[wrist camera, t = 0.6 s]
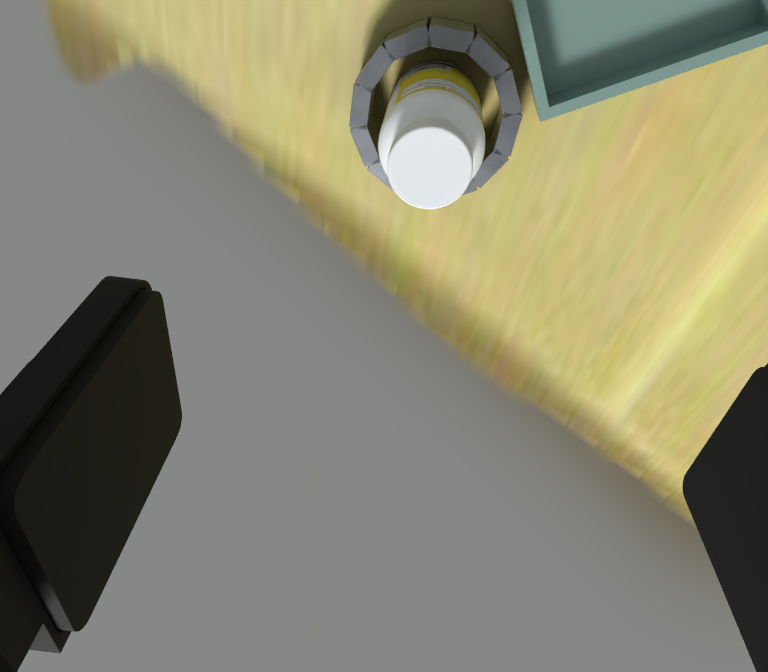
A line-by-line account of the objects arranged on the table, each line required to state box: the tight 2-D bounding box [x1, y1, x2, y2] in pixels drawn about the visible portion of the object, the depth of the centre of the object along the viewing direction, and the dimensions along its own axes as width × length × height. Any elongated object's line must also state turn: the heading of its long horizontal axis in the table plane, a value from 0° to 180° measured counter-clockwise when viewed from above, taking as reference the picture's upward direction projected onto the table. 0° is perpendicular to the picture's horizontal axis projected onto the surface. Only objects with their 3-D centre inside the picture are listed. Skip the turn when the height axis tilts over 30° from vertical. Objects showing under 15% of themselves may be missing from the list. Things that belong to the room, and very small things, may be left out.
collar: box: [349, 17, 522, 195], centre depth 33 cm, size 9×9×2 cm
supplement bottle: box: [378, 61, 485, 209], centre depth 30 cm, size 5×5×10 cm
